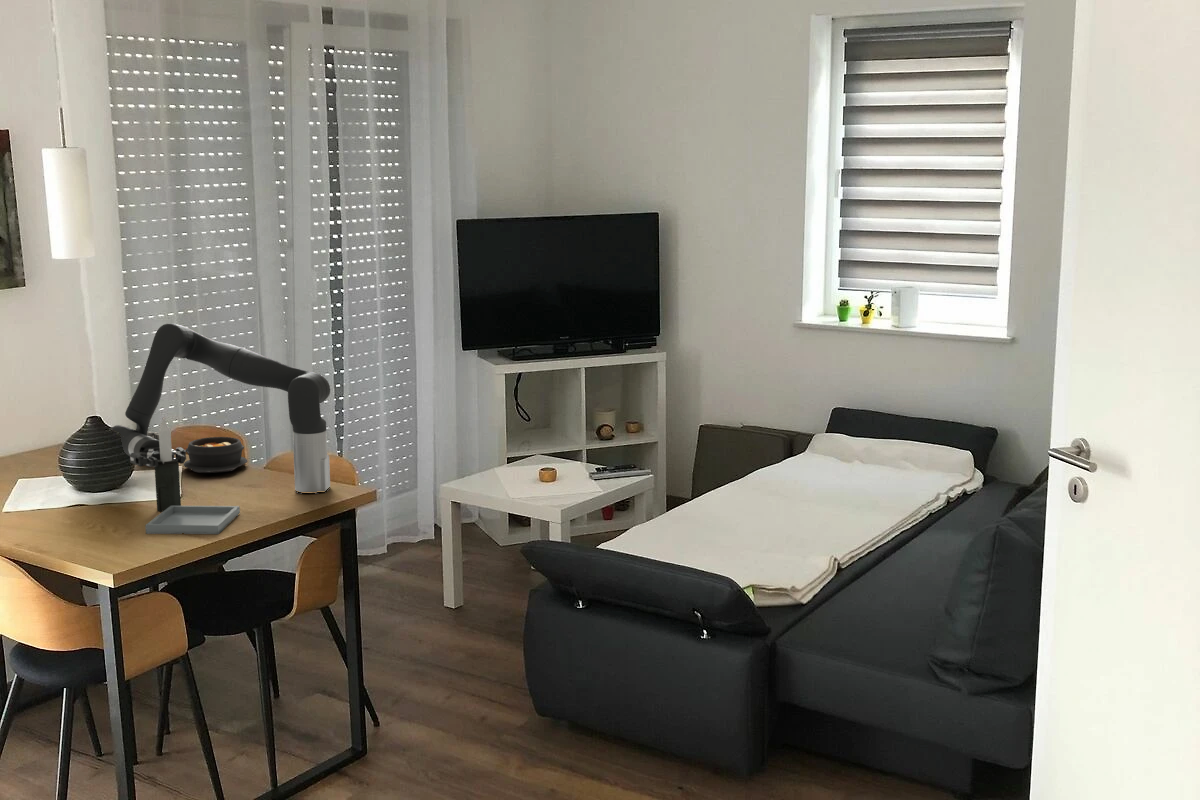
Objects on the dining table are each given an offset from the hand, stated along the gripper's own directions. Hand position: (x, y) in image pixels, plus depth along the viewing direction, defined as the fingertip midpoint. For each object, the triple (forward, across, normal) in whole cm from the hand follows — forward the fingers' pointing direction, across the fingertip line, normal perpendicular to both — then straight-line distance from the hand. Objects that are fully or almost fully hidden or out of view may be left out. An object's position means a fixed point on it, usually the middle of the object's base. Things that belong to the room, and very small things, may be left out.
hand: (169, 461), depth 315 cm
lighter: (-56, +16, +14) cm, 59 cm away
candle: (-2, 0, +14) cm, 14 cm away
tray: (+15, 0, +14) cm, 20 cm away
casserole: (-39, +28, +14) cm, 50 cm away
